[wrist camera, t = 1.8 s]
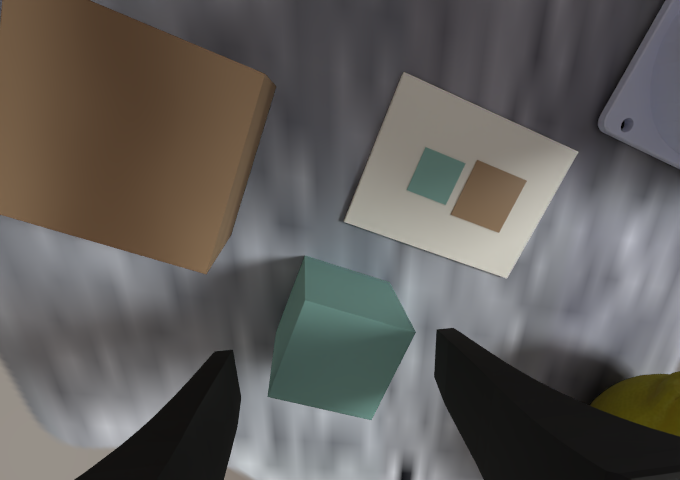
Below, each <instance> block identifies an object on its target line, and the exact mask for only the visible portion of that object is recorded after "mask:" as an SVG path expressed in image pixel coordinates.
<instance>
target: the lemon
mask: <svg viewBox="0 0 680 480" xmlns="http://www.w3.org/2000/svg"><path fill="white" fill-rule="evenodd" d="M590 406H592V407H594V408H597V409H599V410H602V411H604V412H607V413H609V414H612V415H615V416H617V417H620V418H623V419H626V420H629V421H632V422H634V423H637V424H640V425H643V426H646V427H649V428H652V429H656V430H659V431H663V432H666V433H669V434H673V435H676V436H680V371H679V372H675V373H672V374H651V375H640V376H636V377H632V378H629V379H626V380H623V381H621V382H619V383H617V384H615V385H613V386H611V387H610V388H608V389H607V390H606V391H604V392H603V393H602V394H600V395H599V396H598V397H597V398H595V399H594V401H593V402H592V403H591V404H590Z"/></svg>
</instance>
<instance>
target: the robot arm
mask: <svg viewBox="0 0 680 480" xmlns="http://www.w3.org/2000/svg"><path fill="white" fill-rule="evenodd" d="M623 121H625V125H624V128H623V129H622V130H621V124H622V122H623ZM598 127H599V129H600V130H601V131H602V132H603V133H605V134H607V135H609V136H611V137H613V138H615V139H617V140H619V141H622V142H624V143H626V144H628V145H630V146H632V147H634V148H636V149H638V150H640V151H642V152H644V153H647V154H649V155H651V156H653V157H655V158H657V159H659V160H661V161H663V162H665V163H667V164H669V165H672V166H674V167H676V168H678V169H680V0H665V2H664V4H663V5H662V7H661V9H660V11H659V13H658V14H657V16H656V18H655V20H654V21H653V23H652V25H651V27H650V28H649V30H648V32H647V34H646V35H645V37H644V39H643V41H642V43H641V44H640V46H639V48H638V50H637V51H636V53H635V55H634V57H633V58H632V60H631V62H630V64H629V65H628V67H627V69H626V71H625V73H624V74H623V76H622V78H621V80H620V81H619V83H618V85H617V87H616V88H615V90H614V92H613V94H612V96H611V97H610V99H609V101H608V103H607V104H606V106H605V108H604V110H603V111H602V113H601V115H600V117H599V120H598ZM434 377H435V380H436V382H437V385H438V388H439V391H440V393H441V396H442V398H443V401H444V403H445V405H446V407H447V409H448V411H449V413H450V415H451V417H452V419H453V421H454V423H455V424H456V426H457V428H458V430H459V432H460V434H461V436H462V438H463V440H464V441H465V443H466V445H467V447H468V449H469V451H470V453H471V455H472V457H473V458H474V460H475V462H476V464H477V466H478V468H479V470H480V472H481V474H482V477H483V479H484V480H680V436H676V435H673V434H669V433H666V432H663V431H659V430H656V429H652V428H649V427H646V426H643V425H640V424H637V423H634V422H632V421H629V420H626V419H623V418H620V417H617V416H615V415H612V414H609V413H607V412H604V411H602V410H599V409H597V408H594V407H592V406H590V405H587V404H585V403H582V402H580V401H578V400H575V399H573V398H571V397H569V396H567V395H564V394H562V393H560V392H558V391H556V390H554V389H552V388H550V387H548V386H546V385H544V384H542V383H540V382H538V381H537V380H535V379H533V378H531V377H529V376H528V375H526V374H524V373H522V372H521V371H519V370H517V369H516V368H514V367H512V366H511V365H509V364H507V363H506V362H504V361H503V360H501V359H499V358H498V357H496V356H495V355H493V354H492V353H490V352H489V351H487V350H486V349H484V348H483V347H481V346H480V345H478V344H477V343H475V342H474V341H472V340H471V339H469V338H468V337H466V336H465V335H464V334H462V333H461V332H459V331H457V330H456V329H454V328H448V329H438V330H437V334H436V353H435V372H434ZM240 403H241V394H240V388H239V382H238V377H237V371H236V365H235V359H234V354H233V350H226V351H216V352H214V353H213V354H212V355H211V356H210V357H209V359H208V360H207V361H206V362H205V363H204V364H203V365H202V366H201V368H200V369H199V370H198V371H197V372H196V373H195V374H194V375H193V377H192V378H191V379H190V380H189V381H188V382H187V383H186V384H185V385H184V386H183V387H182V389H181V390H180V391H179V392H178V393H177V394H176V395H175V396H174V397H173V398H172V399H171V400H170V401H169V402H168V403H167V404H166V405H165V406H164V407H163V408H162V409H161V410H160V411H159V412H158V413H157V414H156V415H155V416H154V417H153V418H152V419H151V420H150V421H149V422H147V423H146V424H145V425H144V426H143V427H142V428H141V429H140V430H138V431H137V432H136V433H135V434H134V435H133V436H131V437H130V438H129V439H128V440H127V441H125V442H124V443H123V444H122V445H121V446H119V447H118V448H117V449H115V450H114V451H113V452H111V453H110V454H109V455H107V456H106V457H105V458H104V459H102V460H101V461H100V462H98V463H97V464H96V465H94V466H93V467H92V468H90V469H89V470H88V471H86V472H85V473H83V474H82V475H81V476H79V477H78V478H76V479H75V480H224V477H225V473H226V469H227V465H228V461H229V458H230V454H231V450H232V446H233V442H234V438H235V434H236V430H237V425H238V418H239V411H240Z"/></svg>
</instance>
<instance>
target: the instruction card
mask: <svg viewBox="0 0 680 480" xmlns="http://www.w3.org/2000/svg"><path fill="white" fill-rule="evenodd" d="M577 154H578V151H576V150H574V149H571V148H569V147H567V146H565V145H563V144H560V143H558V142H556V141H554V140H552V139H550V138H547V137H545V136H543V135H541V134H539V133H536V132H534V131H532V130H530V129H528V128H525V127H523V126H521V125H519V124H517V123H515V122H512V121H510V120H508V119H506V118H504V117H501V116H499V115H497V114H495V113H493V112H491V111H488V110H486V109H484V108H482V107H480V106H477V105H475V104H473V103H471V102H469V101H466V100H464V99H462V98H460V97H458V96H456V95H453V94H451V93H449V92H447V91H445V90H442V89H440V88H438V87H436V86H434V85H431V84H429V83H427V82H425V81H423V80H421V79H418V78H416V77H414V76H412V75H410V74H407V73H405V72H403V73H402V75H401V78H400V81H399V83H398V86H397V88H396V91H395V93H394V96H393V98H392V101H391V103H390V106H389V108H388V111H387V113H386V116H385V118H384V121H383V123H382V126H381V128H380V131H379V133H378V136H377V138H376V141H375V143H374V146H373V148H372V151H371V153H370V156H369V158H368V161H367V163H366V166H365V169H364V171H363V174H362V176H361V179H360V181H359V184H358V186H357V189H356V191H355V194H354V196H353V199H352V201H351V204H350V206H349V209H348V211H347V214H346V216H345V219H344V222H345V223H348V224H351V225H354V226H357V227H360V228H363V229H366V230H369V231H371V232H374V233H377V234H380V235H383V236H386V237H389V238H392V239H394V240H397V241H400V242H403V243H406V244H409V245H412V246H415V247H418V248H420V249H423V250H426V251H429V252H432V253H435V254H438V255H441V256H443V257H446V258H449V259H452V260H455V261H458V262H461V263H464V264H467V265H469V266H472V267H475V268H478V269H481V270H484V271H487V272H490V273H493V274H495V275H498V276H501V277H504V278H508V276H509V274H510V272H511V270H512V269H513V267H514V265H515V263H516V262H517V260H518V258H519V256H520V255H521V253H522V251H523V249H524V247H525V246H526V244H527V242H528V240H529V239H530V237H531V235H532V233H533V232H534V230H535V228H536V226H537V224H538V223H539V221H540V219H541V217H542V216H543V214H544V212H545V210H546V209H547V207H548V205H549V203H550V202H551V200H552V198H553V196H554V194H555V193H556V191H557V189H558V187H559V186H560V184H561V182H562V180H563V179H564V177H565V175H566V173H567V171H568V170H569V168H570V166H571V164H572V163H573V161H574V159H575V157H576V156H577Z"/></svg>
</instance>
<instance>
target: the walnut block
mask: <svg viewBox="0 0 680 480" xmlns="http://www.w3.org/2000/svg"><path fill="white" fill-rule="evenodd" d="M275 89H276V86H275V85H274V83H273V82H272V81H271V80H270V79H269V78H268V77H267V75H266V74H264V73H262V72H259V71H257V70H255V69H252V68H250V67H247V66H245V65H243V64H240V63H238V62H236V61H233V60H231V59H228V58H226V57H224V56H221V55H219V54H216V53H214V52H212V51H209V50H207V49H204V48H202V47H200V46H197V45H195V44H193V43H190V42H188V41H185V40H183V39H181V38H178V37H176V36H173V35H171V34H169V33H166V32H164V31H161V30H159V29H157V28H154V27H152V26H150V25H147V24H145V23H142V22H140V21H138V20H135V19H133V18H130V17H128V16H126V15H123V14H121V13H118V12H116V11H114V10H111V9H109V8H107V7H104V6H102V5H99V4H97V3H95V2H92V1H90V0H2V11H1V22H0V215H3V216H7V217H10V218H14V219H17V220H21V221H24V222H28V223H31V224H34V225H38V226H41V227H45V228H48V229H52V230H55V231H59V232H62V233H66V234H69V235H72V236H76V237H79V238H83V239H86V240H90V241H93V242H97V243H100V244H104V245H107V246H110V247H114V248H117V249H121V250H124V251H128V252H131V253H135V254H138V255H141V256H145V257H148V258H152V259H155V260H159V261H162V262H166V263H169V264H173V265H176V266H179V267H183V268H186V269H190V270H193V271H197V272H200V273H204V274H207V272H208V271H209V269H210V268H211V266H212V264H213V263H214V261H215V260H216V258H217V257H218V255H219V253H220V252H221V250H222V249H223V247H224V246H225V244H226V242H227V241H228V239H229V238H230V236H231V234H232V230H233V227H234V224H235V221H236V217H237V214H238V211H239V207H240V204H241V201H242V198H243V194H244V191H245V188H246V184H247V181H248V178H249V175H250V171H251V168H252V165H253V161H254V158H255V155H256V152H257V148H258V145H259V142H260V138H261V135H262V132H263V129H264V125H265V122H266V119H267V115H268V112H269V109H270V106H271V102H272V99H273V96H274V93H275Z"/></svg>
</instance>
